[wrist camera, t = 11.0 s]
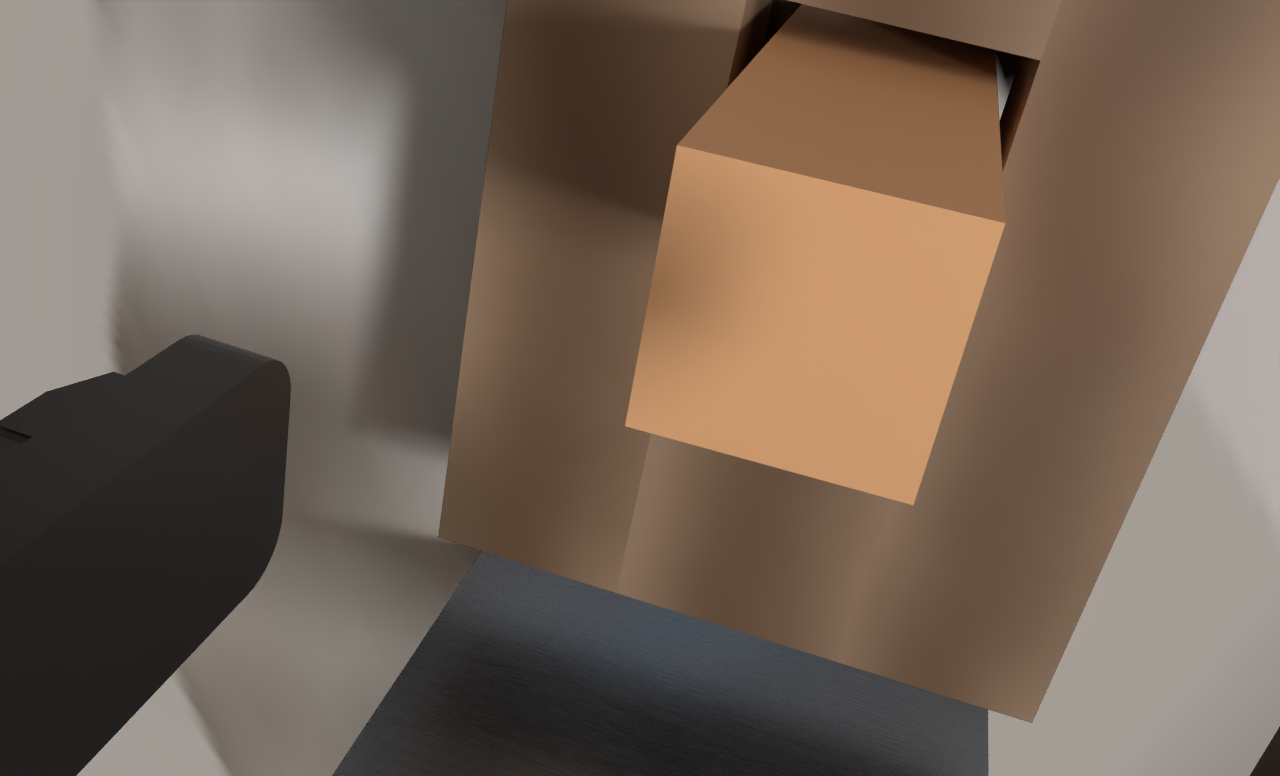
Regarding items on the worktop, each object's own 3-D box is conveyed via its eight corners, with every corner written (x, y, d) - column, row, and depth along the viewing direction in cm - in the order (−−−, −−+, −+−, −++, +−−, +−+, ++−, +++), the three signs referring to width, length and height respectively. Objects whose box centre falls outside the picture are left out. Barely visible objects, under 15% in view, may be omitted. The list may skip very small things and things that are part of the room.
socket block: (1310, -52, 23) (1371, -25, 19) (1025, 616, 30) (1031, 722, 27) (597, -208, 24) (534, -209, 21) (497, 457, 32) (438, 537, 28)
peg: (994, 44, 25) (1005, 222, 14) (939, 227, 27) (912, 505, 16) (802, 2, 25) (676, 144, 15) (762, 184, 27) (624, 426, 17)
